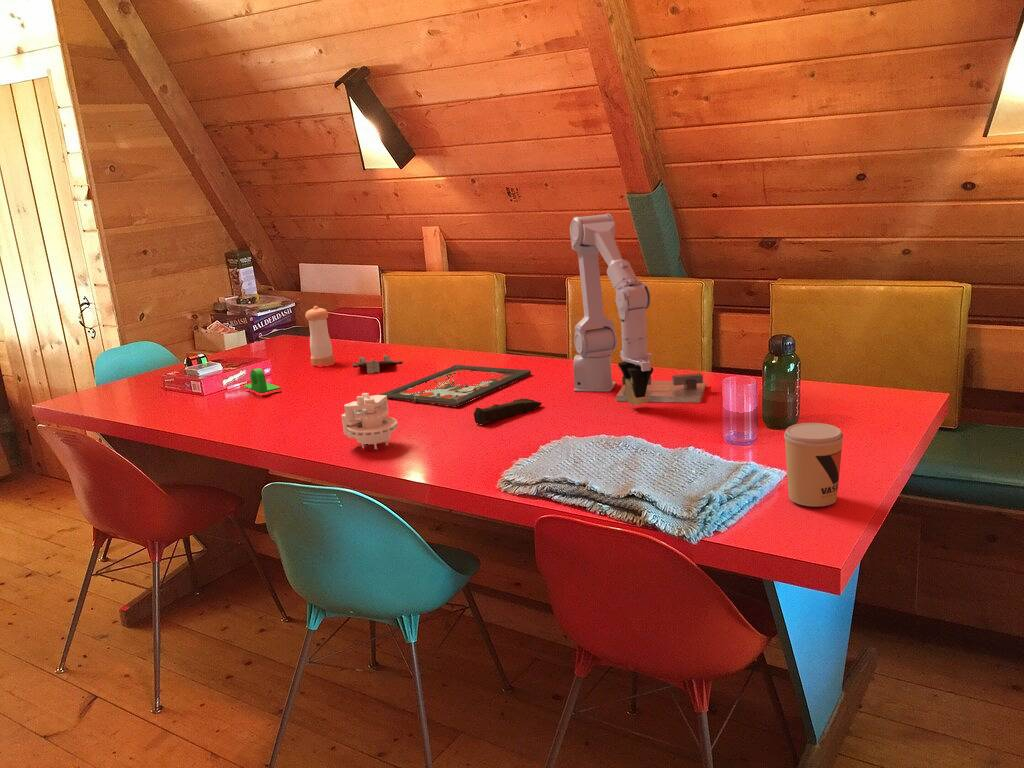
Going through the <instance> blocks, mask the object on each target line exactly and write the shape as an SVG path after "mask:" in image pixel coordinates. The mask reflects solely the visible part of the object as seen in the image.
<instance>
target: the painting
mask: <svg viewBox="0 0 1024 768" xmlns="http://www.w3.org/2000/svg"><path fill="white" fill-rule="evenodd" d="M462 370H463V371H464V370H469V371H470V370H471V372H472V371H479V372H480V371H481V372H488V373H489V372H490V373H497V374H498V373H499V374H502V376H500V377H499V378H500V379H499V378H498V377H497V378H498V379H497V378H496V377H495V378H496V379H497V380H496V379H495V378H494V379H489V380H490V381H489V380H488V381H489V382H488V381H487V382H486V381H485V382H484V381H482V382H481V383H480V382H479V383H480V384H479V385H478V384H477V385H476V384H475V385H476V387H475V386H471V385H470V386H469V385H468V384H467V383H466V384H467V385H468V386H467V385H466V384H465V385H466V386H465V387H464V386H463V385H462V386H463V388H462V386H461V385H460V384H459V385H460V387H461V388H460V387H459V385H458V384H457V383H456V382H455V381H454V380H453V379H452V380H453V382H452V384H453V383H454V382H455V383H456V384H457V385H458V387H457V386H455V385H454V384H455V383H454V384H453V385H454V386H453V385H452V384H451V383H450V382H449V380H450V379H449V378H450V377H448V375H450V376H451V375H452V374H451V373H452V372H453V374H456V372H455V371H460V372H461V371H462ZM454 372H455V373H454ZM531 372H532V371H531V369H518V368H516V369H515V368H507V367H506V368H505V367H502V368H501V367H491V366H479V365H477V366H476V365H464V364H454V365H452V366H450V367H448V368H446V369H443V370H440V371H438V372H435V373H433V374H430V375H427V376H424V377H422V378H420V379H417V380H414V381H411V382H409V383H406V384H404V385H401V386H398V387H396V388H394V389H391V390H388V391H385V392H382V393H379V394H378V395H387V399H389V398H393V399H392V400H396V399H399V400H398V401H402V400H409V401H408V402H410V401H414V402H422V403H421V404H426V403H434V404H433V405H435V404H440V405H448V406H447V407H449V406H458V405H461V404H464V403H466V402H468V401H470V400H472V399H474V398H477V397H479V396H482V395H484V394H486V395H488V394H487V393H489V392H491V393H493V392H492V391H494V390H496V391H498V390H500V389H499V388H500V387H503V386H505V385H507V386H509V385H508V384H510V383H512V382H515V381H517V380H519V379H521V380H523V379H525V378H528V377H530V376H531V374H532V373H531ZM447 374H448V375H447ZM458 374H459V373H458ZM484 374H485V373H484ZM503 374H504V375H503ZM442 376H443V377H442ZM444 376H445V377H446V376H447V377H448V379H449V380H448V379H445V378H444ZM492 376H493V375H492ZM527 376H528V377H527ZM452 377H453V376H452ZM524 377H525V378H524ZM437 378H440V379H441V378H442V379H443V378H444V379H445V381H446V380H447V381H448V382H447V381H446V382H447V383H446V382H445V381H444V382H445V383H444V382H443V380H444V379H443V380H442V379H441V381H442V382H443V383H444V384H445V385H444V384H443V383H442V382H441V381H440V380H439V379H438V380H439V381H440V382H441V383H442V384H441V383H440V382H439V381H438V380H437V381H438V383H439V385H440V384H441V385H442V386H441V385H440V386H438V385H437V386H438V388H436V387H435V388H434V389H433V390H432V389H431V391H430V388H429V390H428V391H427V390H425V393H424V391H422V393H421V392H419V391H418V393H416V392H415V394H413V393H414V392H413V393H412V394H411V393H410V394H409V392H408V393H407V390H409V389H412V387H416V385H417V386H418V385H420V384H422V383H424V382H425V383H427V381H430V380H434V379H437ZM522 378H523V379H522ZM456 381H457V380H456ZM519 381H520V380H519ZM434 382H436V381H434ZM517 382H518V381H517ZM436 383H437V382H436ZM449 383H450V384H451V385H452V386H451V385H450V384H449ZM515 383H516V382H515ZM512 384H513V383H512ZM473 385H474V384H473ZM510 385H511V384H510ZM430 386H431V385H430ZM505 387H506V386H505ZM503 388H504V387H503ZM497 389H498V390H497ZM405 391H406V393H405ZM409 391H410V390H409ZM413 391H414V390H413ZM494 392H495V391H494ZM489 394H490V393H489ZM484 396H485V395H484ZM482 397H483V396H482ZM468 403H469V402H468ZM466 404H467V403H466ZM440 405H439V406H440ZM464 405H465V404H464Z"/></svg>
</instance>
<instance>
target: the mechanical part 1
mask: <svg viewBox="0 0 1024 768" xmlns="http://www.w3.org/2000/svg"><path fill="white" fill-rule="evenodd" d="M249 374H250V383H248V384H244V385H242V387H243V386H244V387H246V388H249V389H251V390H254V391H256V392H258V393H265V392H269V391H273V390H277V389H281V390H282V388H281V386H278V385H275V384H273V383H269V382H267V380H266V379H267V378H266V376H265V375H266V374H265V373H264V370H263V369H262V368H260V367H259V368H254V369H251V370H250V372H249Z"/></svg>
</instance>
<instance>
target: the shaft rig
mask: <svg viewBox="0 0 1024 768" xmlns="http://www.w3.org/2000/svg"><path fill="white" fill-rule="evenodd" d="M671 377H672V380H652V375H651V376H650V378H649V381H648V385H647V403H686V404H687V403H690V404H691V403H693V404H697V403H698V404H699V403H701V402H702V399H703V396H704V392H705V389H706V385H707V384H706V380H704V377H703V374H702V373H701V372H700V373H698V372H697V373H689V374H687V373H686V374H678V375H676V374H675V375H672V376H671ZM621 382H622V386H621V388H620V390H619V391H618V393H617V394H616V397H615V398H616V402H624V403H625V402H627V403H629V402H628V401H626V384H625V379H624V376H622V379H621Z"/></svg>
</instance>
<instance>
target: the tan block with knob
mask: <svg viewBox="0 0 1024 768" xmlns="http://www.w3.org/2000/svg"><path fill="white" fill-rule="evenodd" d="M625 384H626V401H628V402H627V403H629V404H630V405H632V406H637V405H643V404H648V402H647V389H646V394H645V397H639V398H636V396H635V393H634V387H633V382H632V379H631V378H625Z"/></svg>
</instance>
